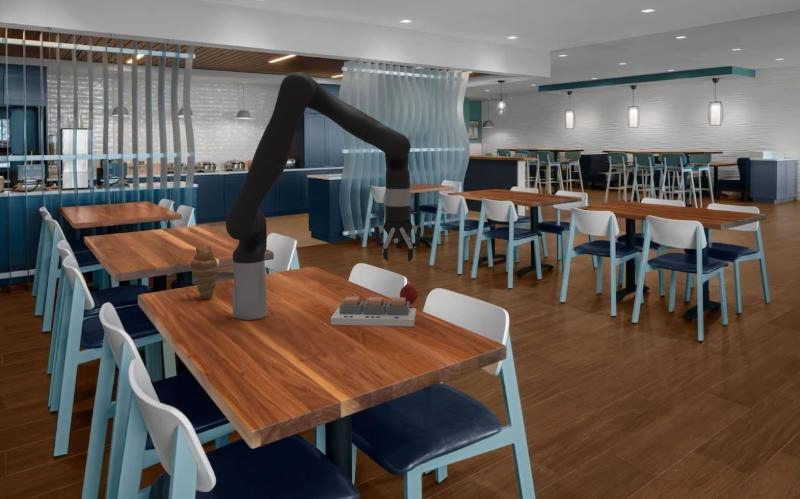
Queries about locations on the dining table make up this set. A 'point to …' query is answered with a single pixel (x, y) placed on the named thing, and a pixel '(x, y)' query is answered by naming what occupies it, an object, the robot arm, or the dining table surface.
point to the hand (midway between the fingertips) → (398, 260)
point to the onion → (409, 293)
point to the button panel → (374, 315)
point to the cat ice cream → (204, 271)
